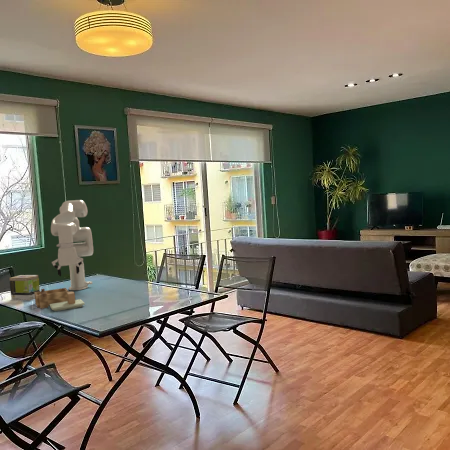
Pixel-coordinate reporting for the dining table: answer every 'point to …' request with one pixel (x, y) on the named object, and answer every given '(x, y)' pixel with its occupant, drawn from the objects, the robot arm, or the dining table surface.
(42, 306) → the open wooden box
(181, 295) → the dining table surface
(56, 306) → the lid
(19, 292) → the tea box
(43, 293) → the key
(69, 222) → the robot arm
